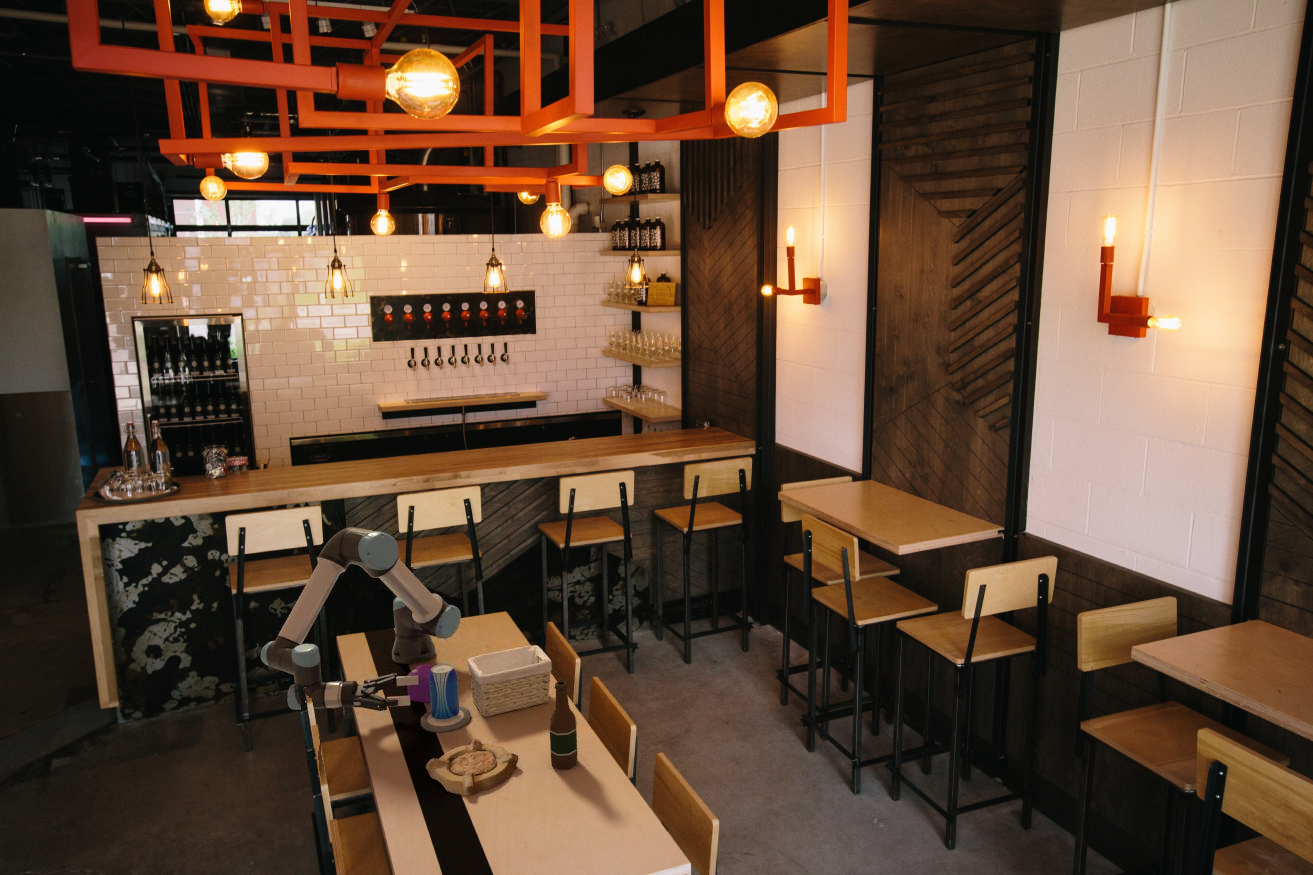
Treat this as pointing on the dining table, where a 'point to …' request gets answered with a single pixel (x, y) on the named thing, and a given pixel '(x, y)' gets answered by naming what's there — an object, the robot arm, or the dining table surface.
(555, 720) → the beer bottle
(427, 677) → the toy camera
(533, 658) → the storage basket
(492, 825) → the dining table surface
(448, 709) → the beer can
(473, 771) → the ashtray
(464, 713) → the coaster plate
